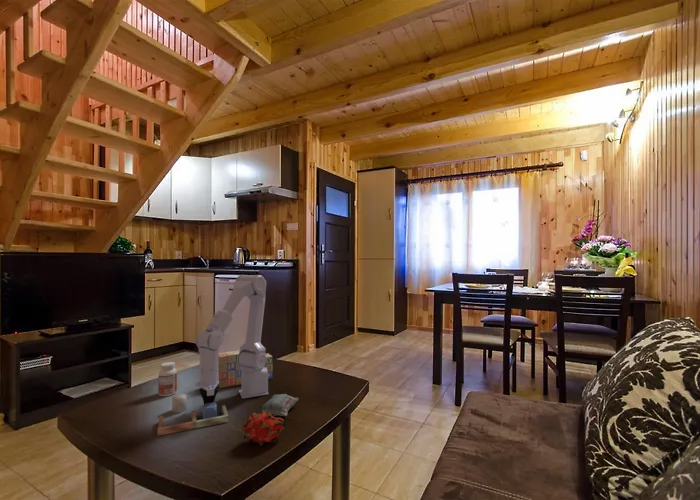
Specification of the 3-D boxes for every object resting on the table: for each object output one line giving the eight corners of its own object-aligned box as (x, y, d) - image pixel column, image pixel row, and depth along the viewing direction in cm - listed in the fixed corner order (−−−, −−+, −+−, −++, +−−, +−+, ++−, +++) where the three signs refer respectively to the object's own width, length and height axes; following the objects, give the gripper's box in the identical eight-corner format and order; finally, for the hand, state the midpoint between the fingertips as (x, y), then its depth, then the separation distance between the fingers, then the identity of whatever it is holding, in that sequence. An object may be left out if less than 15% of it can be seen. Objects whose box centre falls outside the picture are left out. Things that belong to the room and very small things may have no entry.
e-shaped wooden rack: (225, 410, 114) (225, 404, 114) (228, 421, 106) (228, 415, 106) (159, 422, 105) (159, 416, 105) (157, 435, 97) (157, 429, 97)
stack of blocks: (268, 374, 150) (268, 346, 151) (272, 378, 145) (273, 349, 145) (216, 383, 139) (216, 352, 140) (219, 388, 134) (219, 356, 134)
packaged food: (298, 406, 117) (298, 391, 118) (286, 422, 106) (286, 405, 106) (274, 404, 119) (274, 390, 119) (259, 420, 107) (259, 404, 107)
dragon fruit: (237, 450, 93) (282, 448, 97) (242, 443, 87) (289, 441, 91) (241, 415, 98) (283, 415, 102) (245, 407, 92) (289, 407, 96)
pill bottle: (168, 389, 132) (168, 360, 133) (180, 391, 130) (181, 362, 131) (154, 395, 127) (154, 365, 127) (167, 397, 125) (167, 366, 125)
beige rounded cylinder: (186, 406, 117) (186, 393, 117) (186, 411, 113) (187, 397, 113) (172, 409, 115) (172, 395, 115) (171, 414, 111) (172, 400, 111)
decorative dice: (202, 416, 109) (202, 403, 110) (216, 414, 111) (216, 401, 111) (202, 421, 106) (202, 408, 106) (216, 419, 107) (216, 406, 108)
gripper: (194, 363, 117) (194, 404, 116) (196, 376, 103) (196, 422, 103) (217, 361, 120) (216, 400, 119) (221, 373, 107) (221, 417, 106)
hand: (208, 410), depth 111 cm, fingers closed
